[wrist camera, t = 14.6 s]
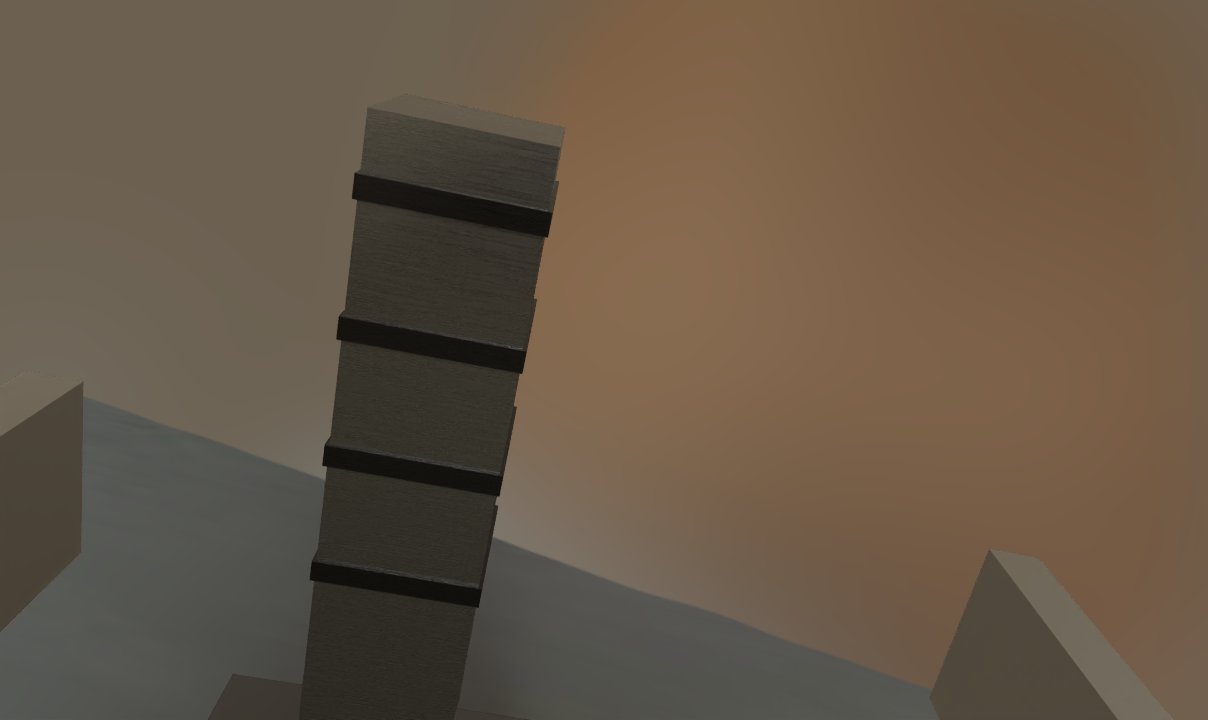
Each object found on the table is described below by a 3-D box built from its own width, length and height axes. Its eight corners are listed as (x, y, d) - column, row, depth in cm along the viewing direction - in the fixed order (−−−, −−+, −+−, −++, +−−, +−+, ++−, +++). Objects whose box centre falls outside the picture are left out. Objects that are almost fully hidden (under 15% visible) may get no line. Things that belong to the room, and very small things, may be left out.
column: (319, 750, 32) (400, 92, 25) (450, 769, 33) (571, 128, 25) (276, 864, 28) (359, 106, 20) (428, 885, 28) (566, 149, 21)
